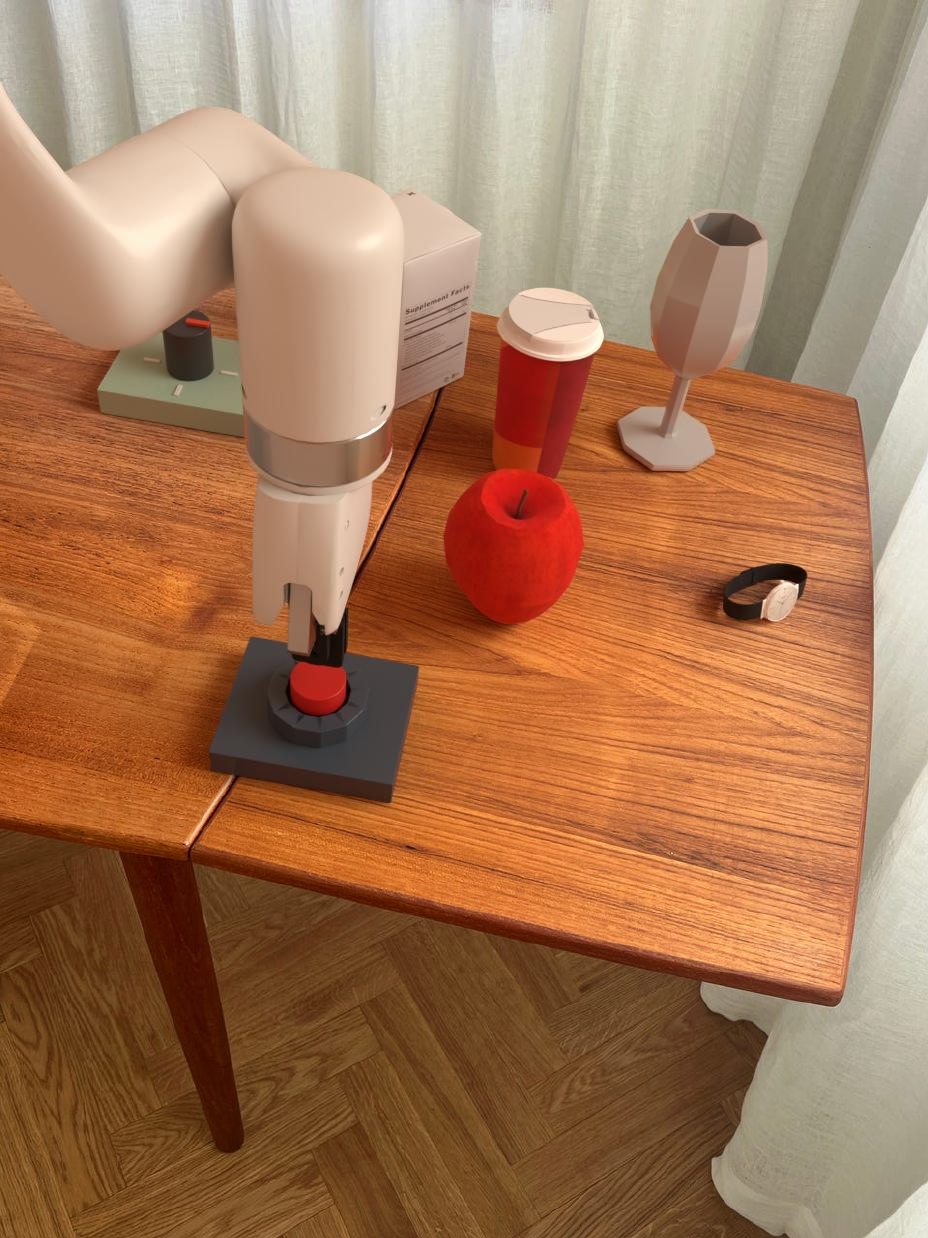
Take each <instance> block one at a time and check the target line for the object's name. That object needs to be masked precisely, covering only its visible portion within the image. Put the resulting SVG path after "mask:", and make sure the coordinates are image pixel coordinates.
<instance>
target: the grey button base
mask: <svg viewBox="0 0 928 1238" xmlns="http://www.w3.org/2000/svg"><path fill="white" fill-rule="evenodd" d="M287 644H288V642H286V641H280V640H274V639H269V638H263V637H258V636H250V637H249V638H248V641H247V644H246V647H245V650H244V653H243V656H242V658H241V662H240V663H239V667H238V669H237V672H236V675H235V678H234V680H233V683H232V686H231V689H230V690H229V691H230V692H229V693H228V697H227V700H226V702H225V705H224V708H223V710H222V713H221V716H220V719H219V721H218V724H217V727H216V730H215V733H214V735H213V738H212V741H211V744H210V746H209V749H208V759H209V767H210V771H211V772H215V773H219V774H225V775H232V776H238V777H243V778H249V779H254V780H260V781H265V782H271V783H277V784H283V785H286V786H294V787H299V788H305V789H310V790H314V791H315V790H316V791H322V792H327V793H333V794H338V795H344V796H349V797H354V798H355V797H356V798H361V799H365V800H372V801H377V802H383V803H389V804H391V803H392V801H393V796H394V792H395V787H396V783H397V778H398V774H399V769H400V765H401V761H402V756H403V751H404V747H405V742H406V737H407V734H408V729H409V724H410V719H411V715H412V711H413V705H414V701H415V697H416V693H417V688H418V680H419V671H420V665H417V664H410V663H406V662H400V661H395V660H387V659H383V658H378V657H377V658H376V657H371V656H366V655H360V654H354V653H349V652H346V653H345V654H344V661H343V664H342V668H343V669H344V671H345V674H346V697H345V700H344V702H343V704H342V705H341V706H340V707H339V708H338V709H337V710H336V711H334V712H332V713H330V714H327V715H321V716H315V715H309V714H306V713H304V712H302V711H300V710H299V709H298V708H297V707H296V706H295V705H294V703H293V702H292V699H291V689H290V676H291V673H292V671H293V669H294V667H295V666H296V665H297V664H298V663H300V661H296V660H294V659H293V658H292V654H291V653H288V652H287Z"/></svg>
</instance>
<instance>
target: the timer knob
mask: <svg viewBox="0 0 928 1238" xmlns="http://www.w3.org/2000/svg"><path fill="white" fill-rule="evenodd" d="M162 333H163V341H164V350H165V358H166V366H167V370H168V372H169V374H170V375H171V376H173V377H175V378H177V379H180V380H184V381H196V380H200V379H203V378H205V377H207V376H209V375H210V374H211V373H212V371H213V369H214V359H213V347H212V324H211V320H210V318H209V317H208V315H206V314H205V313H203V312H201V311H199V310H196V309H194V310H192V311H191V312H190V313H188V314H187V315H185V316H184V317H182V318H181V319H179V320H178V321H177V322H175V323H174V324H172V325H171V326H169V327H168V328H166V329H165V330H163V331H162Z"/></svg>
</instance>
